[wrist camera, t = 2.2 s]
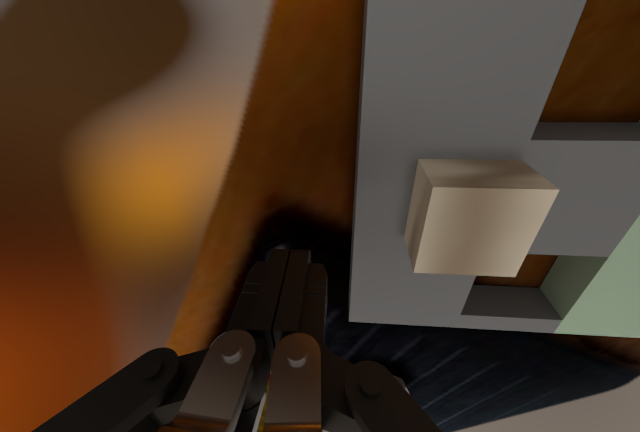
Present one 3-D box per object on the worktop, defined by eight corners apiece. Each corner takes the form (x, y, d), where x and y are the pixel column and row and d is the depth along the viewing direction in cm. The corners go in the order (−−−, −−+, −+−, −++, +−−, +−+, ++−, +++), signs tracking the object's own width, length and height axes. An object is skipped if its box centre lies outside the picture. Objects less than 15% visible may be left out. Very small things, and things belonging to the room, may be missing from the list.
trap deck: (1026, -84, 11) (1628, -178, 6) (650, 306, 23) (734, 384, 18) (367, -54, 12) (379, -105, 7) (348, 291, 25) (349, 358, 20)
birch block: (522, 160, 14) (559, 189, 12) (490, 239, 17) (515, 277, 14) (418, 158, 14) (433, 187, 12) (404, 236, 17) (413, 272, 15)
